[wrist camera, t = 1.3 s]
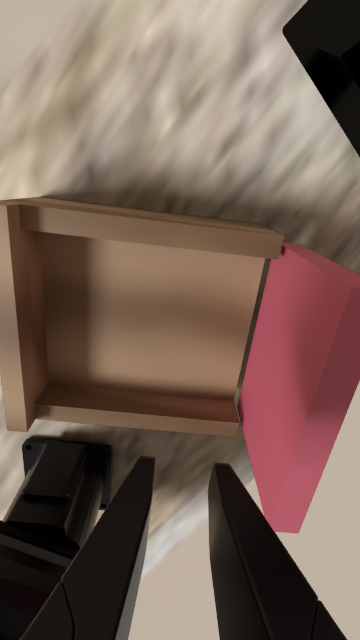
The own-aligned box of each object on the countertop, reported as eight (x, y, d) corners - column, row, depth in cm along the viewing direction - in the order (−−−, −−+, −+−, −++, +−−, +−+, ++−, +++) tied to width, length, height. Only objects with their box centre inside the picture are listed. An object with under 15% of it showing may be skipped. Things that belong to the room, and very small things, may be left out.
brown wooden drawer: (225, 389, 22) (239, 451, 17) (48, 371, 21) (7, 430, 16) (259, 223, 18) (291, 240, 12) (39, 197, 17) (-21, 202, 12)
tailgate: (275, 241, 15) (351, 287, 9) (315, 246, 16) (422, 295, 9) (237, 407, 19) (268, 530, 12) (269, 410, 19) (318, 535, 13)
